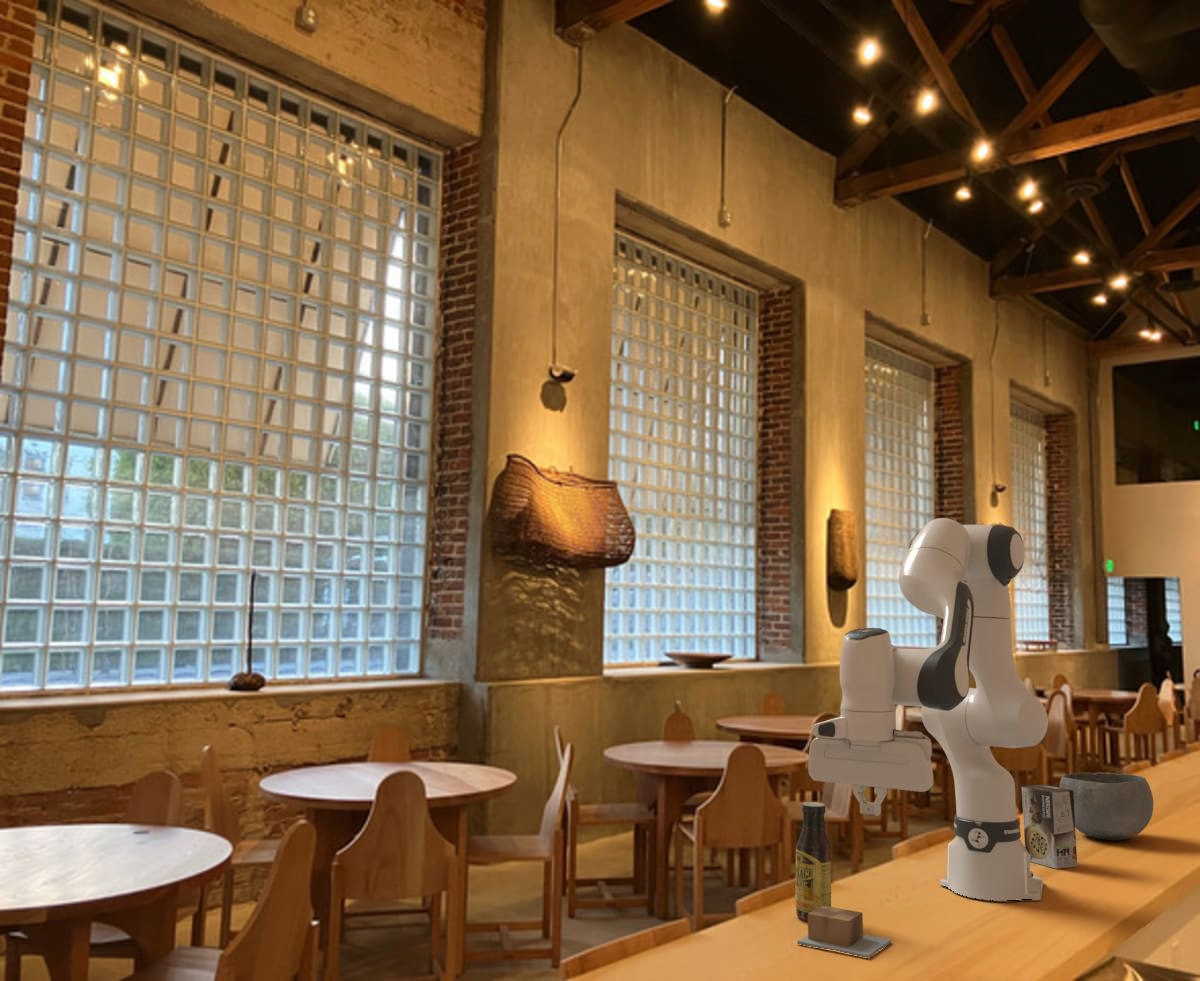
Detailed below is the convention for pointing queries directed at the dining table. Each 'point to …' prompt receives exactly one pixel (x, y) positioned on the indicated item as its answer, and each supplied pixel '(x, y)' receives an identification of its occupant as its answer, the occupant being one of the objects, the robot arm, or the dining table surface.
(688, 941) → the dining table surface
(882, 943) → the mat
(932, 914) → the dining table surface
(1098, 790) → the bowl
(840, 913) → the walnut block
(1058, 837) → the coffee box
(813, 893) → the sauce bottle
